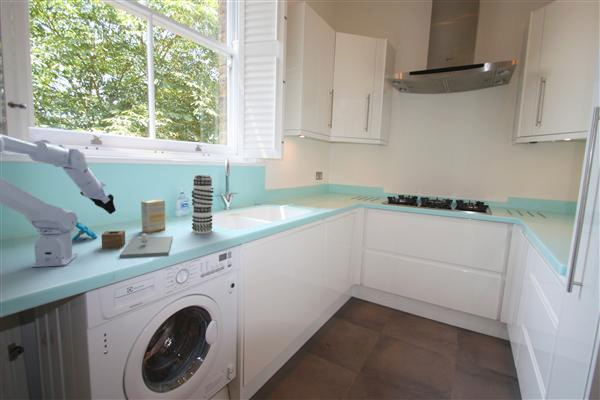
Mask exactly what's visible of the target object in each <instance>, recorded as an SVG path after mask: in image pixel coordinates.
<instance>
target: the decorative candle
mask: <svg viewBox="0 0 600 400" xmlns="http://www.w3.org/2000/svg"><path fill="white" fill-rule="evenodd" d="M192 179H193V185H192V190H191V197H192V198H191V201H192V203H191V205H192V206H193V211H192V216H191V217H192V219H191V222H192V223H191V226H192V227H191V229H192V233H194V234H209V233H212V232H213V226H212V225H213V222H212V221H213V219H212V218H213V215H212V214H213V213H212V207H213V205H214V204H213V203H212V202H213V201H214V199H213V198H214V195H212V194H213V193H214V187H213V185H212V183H213V182H212V181H213V178H212V177H211V176H210V175H209V174H196V175H194V177H193V178H192Z"/></svg>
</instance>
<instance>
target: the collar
mask: <svg viewBox="0 0 600 400" xmlns="http://www.w3.org/2000/svg"><path fill="white" fill-rule="evenodd" d="M125 245H126V230H105V231H104V232H103V233H102V234H101V249H102V250H108V249H109V250H111V249H124V246H125Z"/></svg>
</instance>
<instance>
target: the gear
mask: <svg viewBox="0 0 600 400" xmlns="http://www.w3.org/2000/svg"><path fill="white" fill-rule="evenodd" d="M75 228H77V229H79V231H78V233H77V234H76V235H74V237H71V238H72V240H73V241H76V240H77V239H78V238H79V237H80V236H82V235H84V234H86V235H87V236H89V237H91V238H92V239H95V240H96V239H97V238H98V236H97V234H96V233H94V231H93V230H91V229H89V227H88V226H86V225H84V224H83V223H81V222H79V220H78V221H77V224H76V226H75Z"/></svg>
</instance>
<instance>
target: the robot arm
mask: <svg viewBox="0 0 600 400" xmlns="http://www.w3.org/2000/svg"><path fill="white" fill-rule="evenodd" d="M4 151H5V152H6V151H7V152H11V153H16V154H17V153H18V154H22V155H25V156H26V155H27V156H28V157H29V158H30V160H31V161H34V162H38V163H43V164H48V165H53V166H54V167H56V168H58V167H59V168H62V169H63V170H64V172H65V173H66V174H67V175H68V177H69V178H70V179H71V180H72V181H73V184H75V186H76V187H78V189H79V190H80V195H81V196H82V197H85V198H88V199H89V200H90V201H92V202H93V204H94V205H95V206H97V207H98V208H101V209H103V210H104V211H106V212H107V214H110V215H112V214H113V213H115V212H116V207H115V204H114V203H115V202H114V195H113V194H111V193H109V194H108V195H107V194H106V189H105V187H106V183H105V182H102V181H101V182H100V181H99V180H98V179H97V177H96V176H95V174H93V171H92V170H90V168H89V165H88V163H87V162H86V156H85V153H84V152H81V151H80V150H78V149H76V148H67V147H66V145H62V144H58V145H57V144H54V143H51V141H50V140H46V139H41V140H36V141H33V142H30V141H29V142H28V141H25V140H22V139H19V138H16V137H12V136H8V135H5V134H2V133H0V153H3V152H4ZM0 204H1V205H3V206H5V207H6V208H9V209H11V210H13V211H15V212H17V213H19V214H22V215H24V216H25V218H24V220H26V221H28V222H29V223H31V225H32V226H33V228H35V229H36V232H37V233H39V238H38V239H37V240H36V242H35V244H34V256H35V258H34V259H35V263H33V264H32V265H31V267H32V268H41V267H55V266H56V267H57V266H67V265H68V264H69V263H70V262H72V261H73V260H74V259H75V258H77V256H78V255H79V254H78V253H73V241H72V240H73V239H72V238H73V237H72V232H73V231H74V229H75V228H76V224H77V221H78V222H79V220H78V215H77V213H76V212H75V211H74V210H72V209H64V208H63V207H60V206H56V205H53V204H49V203H47V202H46V201H44V200H42V199H40V198H38V197H36V196H34V195H33V194H31V193H29V192H27V191H26V190H23V189H22V188H20V187H18V186H17V185H15V184H13V183H11V182H10V181H8V180H6V179H5V178H2V177H0Z"/></svg>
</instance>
